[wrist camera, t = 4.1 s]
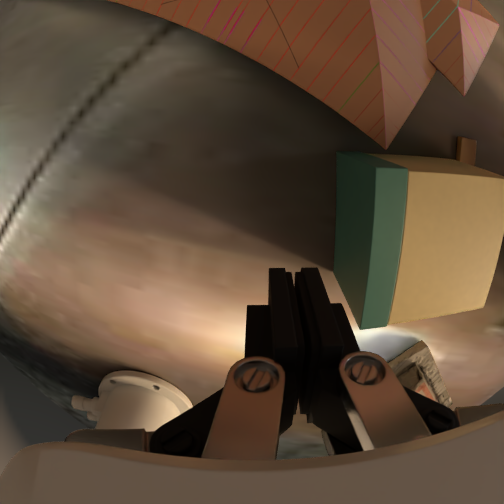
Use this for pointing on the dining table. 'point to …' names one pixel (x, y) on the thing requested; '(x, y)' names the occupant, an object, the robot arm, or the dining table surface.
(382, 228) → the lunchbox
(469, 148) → the oak strip
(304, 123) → the dining table surface
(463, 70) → the house
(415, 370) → the packaged product
